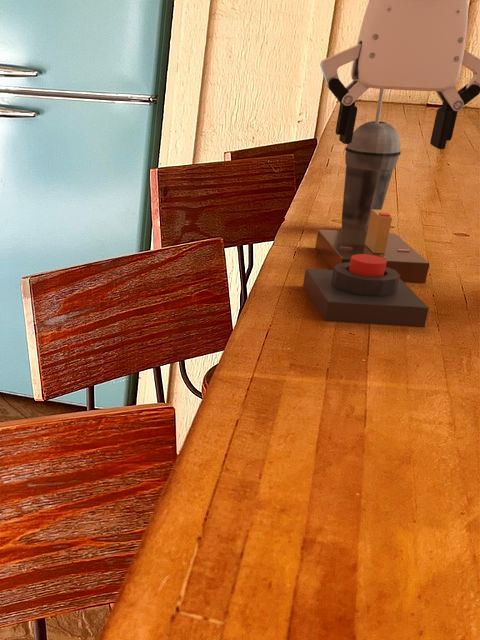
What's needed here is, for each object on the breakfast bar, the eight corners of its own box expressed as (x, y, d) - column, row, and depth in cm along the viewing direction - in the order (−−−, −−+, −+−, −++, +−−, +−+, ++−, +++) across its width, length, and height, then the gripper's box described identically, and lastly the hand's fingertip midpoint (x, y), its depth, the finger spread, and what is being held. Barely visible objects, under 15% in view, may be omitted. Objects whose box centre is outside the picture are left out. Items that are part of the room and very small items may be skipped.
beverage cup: (390, 231, 128) (418, 87, 121) (378, 241, 123) (407, 91, 115) (338, 223, 132) (363, 83, 124) (325, 233, 126) (349, 87, 119)
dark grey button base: (391, 291, 102) (398, 258, 101) (424, 327, 91) (433, 290, 90) (302, 286, 103) (308, 253, 102) (324, 321, 92) (331, 284, 91)
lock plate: (392, 251, 118) (395, 232, 117) (425, 283, 105) (430, 261, 104) (314, 247, 119) (318, 228, 118) (338, 278, 106) (342, 257, 105)
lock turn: (364, 244, 111) (371, 207, 109) (376, 245, 111) (383, 207, 109) (373, 253, 108) (380, 214, 106) (385, 253, 107) (392, 215, 106)
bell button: (378, 270, 97) (381, 255, 96) (387, 280, 94) (391, 264, 93) (344, 268, 98) (347, 253, 97) (352, 278, 94) (355, 262, 94)
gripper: (501, -23, 92) (463, 143, 99) (329, -28, 94) (303, 135, 101) (529, -25, 85) (486, 155, 92) (343, -30, 88) (314, 145, 94)
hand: (390, 144), depth 97 cm, fingers open, 9 cm apart
